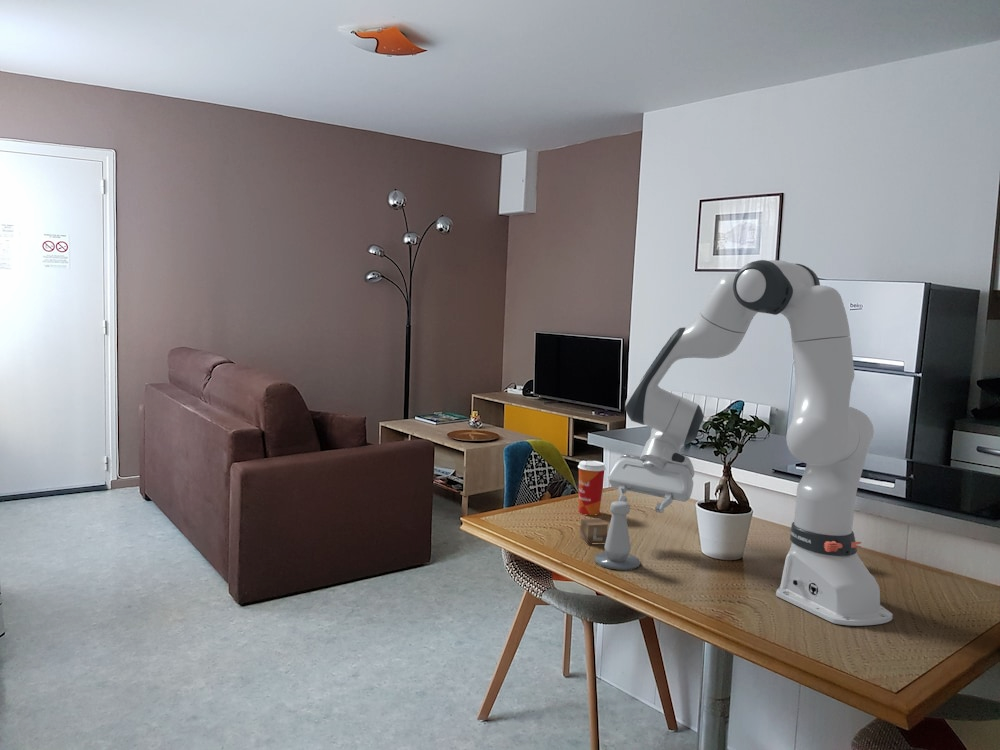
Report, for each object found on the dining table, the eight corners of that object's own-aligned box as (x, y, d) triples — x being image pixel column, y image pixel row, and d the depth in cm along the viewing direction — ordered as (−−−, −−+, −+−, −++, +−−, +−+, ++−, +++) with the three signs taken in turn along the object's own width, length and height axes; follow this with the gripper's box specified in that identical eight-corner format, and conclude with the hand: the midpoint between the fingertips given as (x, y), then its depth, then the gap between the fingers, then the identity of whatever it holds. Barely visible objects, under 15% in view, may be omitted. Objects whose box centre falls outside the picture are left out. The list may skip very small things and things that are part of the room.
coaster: (647, 569, 169) (647, 565, 168) (605, 571, 166) (605, 568, 166) (627, 553, 178) (627, 550, 178) (587, 556, 175) (588, 552, 175)
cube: (606, 544, 184) (608, 524, 184) (587, 545, 183) (588, 525, 183) (598, 537, 189) (599, 518, 189) (579, 538, 188) (580, 518, 188)
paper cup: (571, 508, 214) (574, 459, 212) (598, 508, 215) (601, 459, 214) (579, 517, 206) (582, 466, 205) (606, 516, 208) (610, 466, 206)
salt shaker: (629, 555, 174) (633, 500, 173) (630, 564, 169) (634, 506, 167) (603, 553, 175) (607, 497, 174) (603, 561, 170) (607, 504, 168)
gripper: (616, 446, 191) (596, 492, 184) (696, 459, 179) (677, 508, 172) (622, 461, 195) (603, 506, 188) (701, 474, 184) (683, 523, 177)
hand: (639, 507), depth 180 cm, fingers open, 8 cm apart
